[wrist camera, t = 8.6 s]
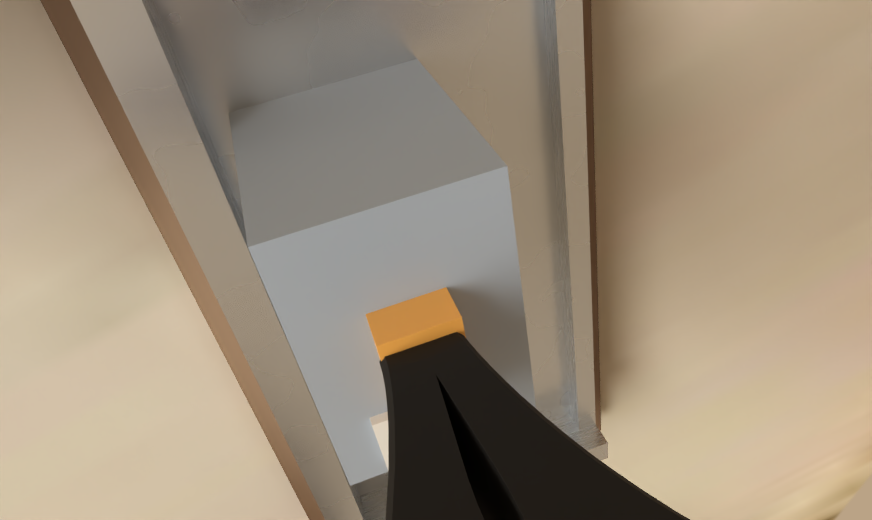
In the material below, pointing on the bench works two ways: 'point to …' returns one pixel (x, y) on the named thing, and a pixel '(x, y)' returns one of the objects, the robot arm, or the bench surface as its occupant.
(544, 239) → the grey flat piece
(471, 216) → the block
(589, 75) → the board
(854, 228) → the bench surface
